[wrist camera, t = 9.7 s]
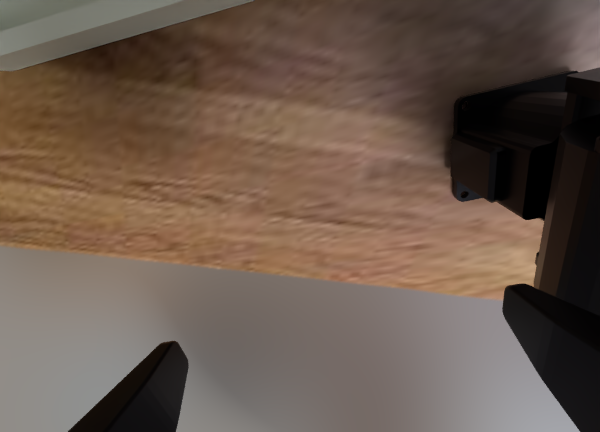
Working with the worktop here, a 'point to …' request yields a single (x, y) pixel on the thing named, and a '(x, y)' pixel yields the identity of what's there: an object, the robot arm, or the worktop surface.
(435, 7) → the worktop surface
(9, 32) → the tray
